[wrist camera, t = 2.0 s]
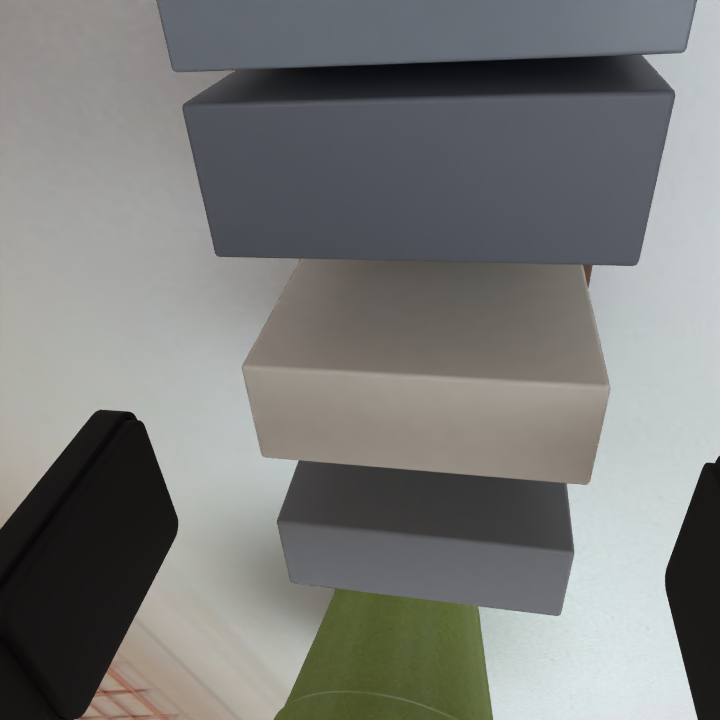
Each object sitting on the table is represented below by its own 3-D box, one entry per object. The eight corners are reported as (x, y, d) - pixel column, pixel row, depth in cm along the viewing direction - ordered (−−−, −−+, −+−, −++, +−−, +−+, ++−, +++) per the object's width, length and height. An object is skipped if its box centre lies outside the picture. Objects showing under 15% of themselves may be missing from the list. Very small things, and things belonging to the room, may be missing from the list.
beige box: (346, 174, 19) (239, 366, 11) (563, 173, 18) (612, 387, 10) (352, 245, 21) (260, 458, 13) (553, 248, 19) (590, 487, 12)
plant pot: (553, 545, 30) (576, 823, 21) (482, 661, 37) (477, 903, 28) (315, 484, 30) (238, 729, 21) (292, 610, 37) (227, 832, 28)
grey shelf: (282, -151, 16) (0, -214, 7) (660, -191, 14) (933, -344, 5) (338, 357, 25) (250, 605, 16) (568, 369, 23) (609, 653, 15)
